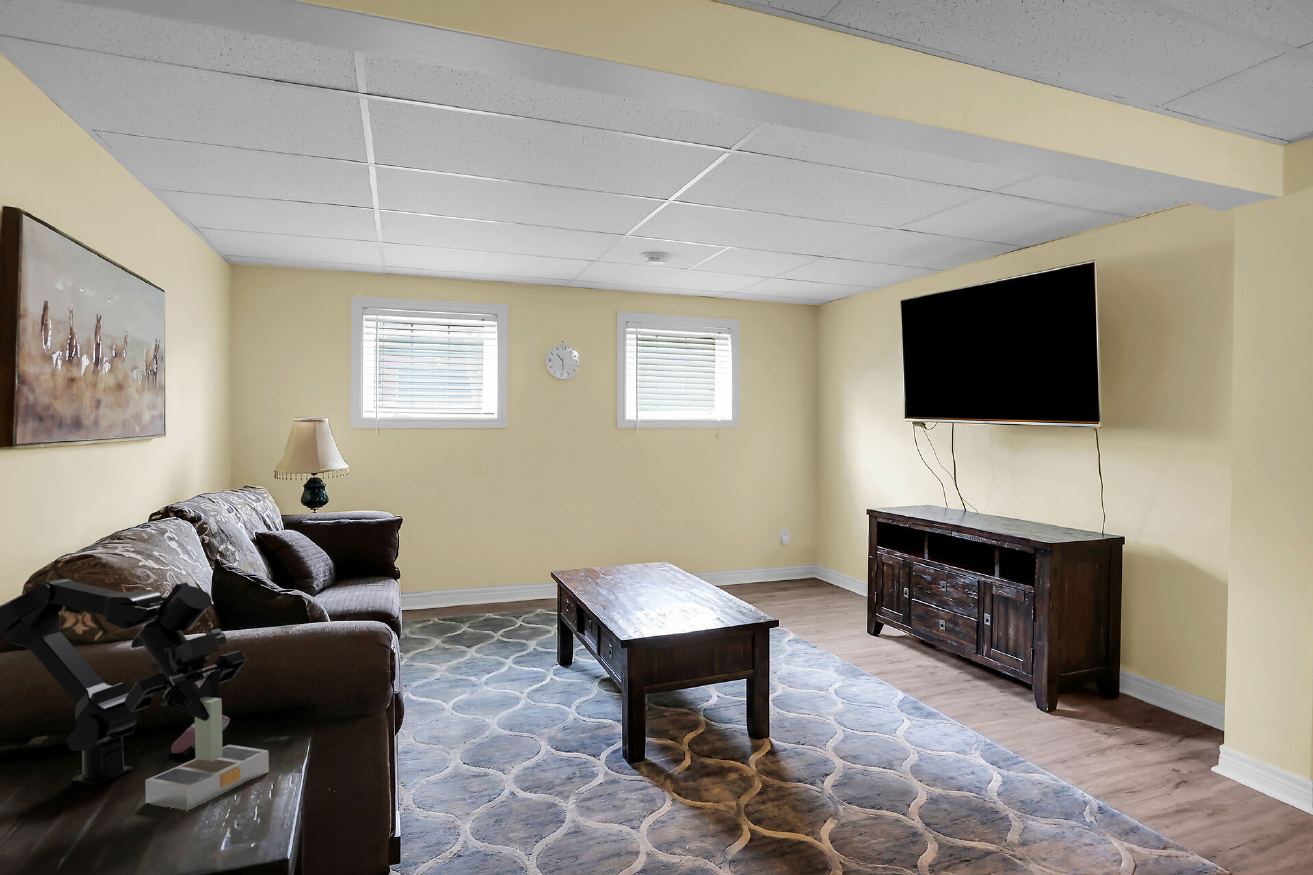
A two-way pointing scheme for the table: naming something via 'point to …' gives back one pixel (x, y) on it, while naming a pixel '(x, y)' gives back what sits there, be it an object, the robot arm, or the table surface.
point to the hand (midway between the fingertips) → (213, 716)
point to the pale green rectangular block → (209, 731)
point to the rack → (206, 778)
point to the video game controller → (192, 737)
